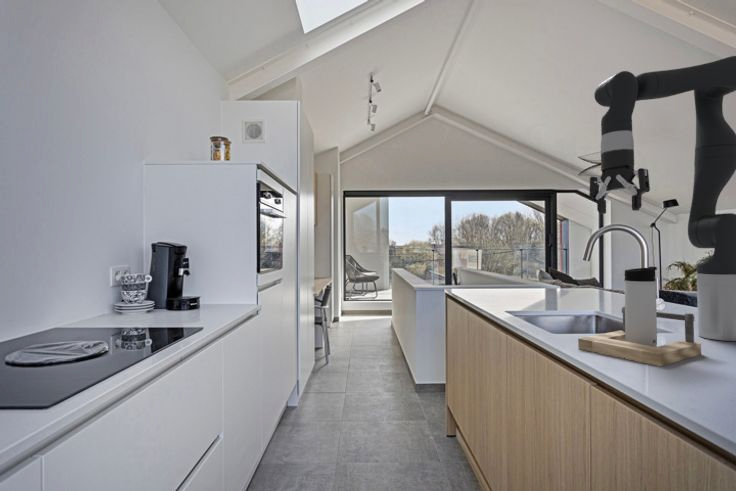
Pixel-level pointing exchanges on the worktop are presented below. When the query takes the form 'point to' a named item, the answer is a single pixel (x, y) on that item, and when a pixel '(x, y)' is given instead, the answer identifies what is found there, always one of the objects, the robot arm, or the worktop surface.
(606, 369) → the worktop surface
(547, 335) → the worktop surface
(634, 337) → the travel mug
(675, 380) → the worktop surface
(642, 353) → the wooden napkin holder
